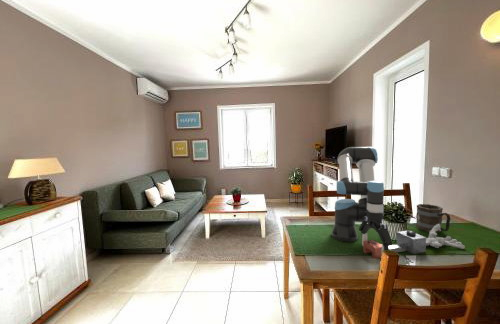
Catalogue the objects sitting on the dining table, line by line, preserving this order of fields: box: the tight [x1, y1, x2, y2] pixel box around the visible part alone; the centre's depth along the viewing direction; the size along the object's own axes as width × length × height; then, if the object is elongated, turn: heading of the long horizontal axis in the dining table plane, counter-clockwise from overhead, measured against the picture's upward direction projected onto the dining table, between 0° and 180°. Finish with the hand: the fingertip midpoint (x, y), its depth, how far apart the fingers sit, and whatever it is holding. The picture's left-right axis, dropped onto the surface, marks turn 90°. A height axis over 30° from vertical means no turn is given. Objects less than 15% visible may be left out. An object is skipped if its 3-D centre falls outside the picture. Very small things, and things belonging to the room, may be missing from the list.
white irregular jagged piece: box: [426, 224, 466, 250], centre depth 125 cm, size 19×8×20 cm
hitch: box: [388, 230, 427, 255], centre depth 118 cm, size 20×10×10 cm, turn 102°
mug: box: [415, 203, 451, 233], centre depth 143 cm, size 20×14×15 cm
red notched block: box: [362, 239, 383, 260], centre depth 114 cm, size 6×8×6 cm
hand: (374, 250), depth 114 cm, fingers open, 13 cm apart
